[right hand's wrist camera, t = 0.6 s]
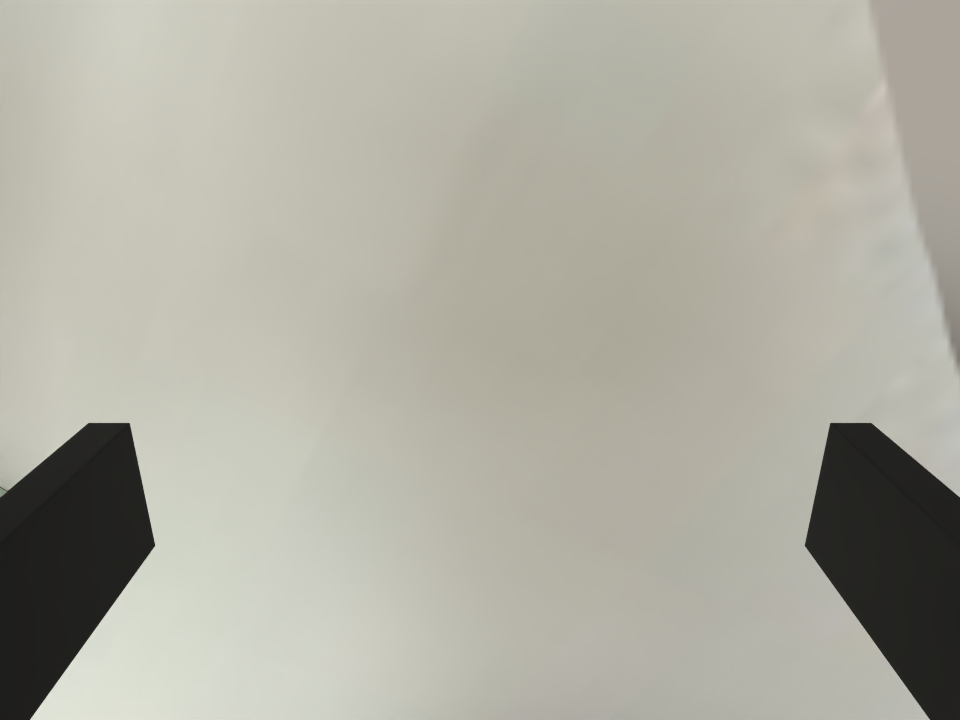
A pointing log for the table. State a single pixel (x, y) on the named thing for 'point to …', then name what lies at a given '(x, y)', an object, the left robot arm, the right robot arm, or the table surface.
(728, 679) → the table surface
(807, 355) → the table surface
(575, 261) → the table surface
